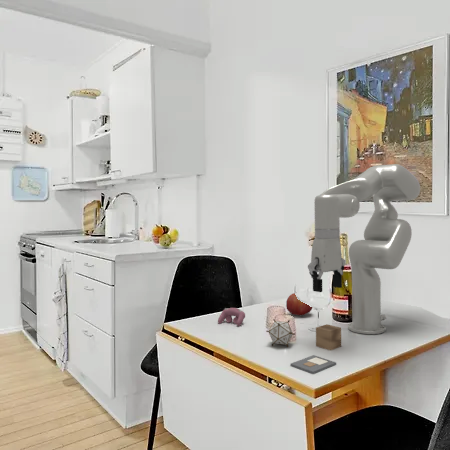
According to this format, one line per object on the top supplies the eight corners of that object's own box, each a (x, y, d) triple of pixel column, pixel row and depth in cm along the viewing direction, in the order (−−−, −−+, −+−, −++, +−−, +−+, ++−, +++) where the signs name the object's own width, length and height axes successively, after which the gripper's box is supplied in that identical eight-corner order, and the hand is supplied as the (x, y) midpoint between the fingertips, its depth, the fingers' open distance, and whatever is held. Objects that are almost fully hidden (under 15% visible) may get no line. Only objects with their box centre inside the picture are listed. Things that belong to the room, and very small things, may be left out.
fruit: (309, 311, 179) (309, 287, 179) (316, 318, 170) (315, 292, 169) (284, 312, 179) (283, 288, 178) (289, 319, 169) (288, 293, 168)
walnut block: (327, 342, 140) (326, 324, 140) (341, 346, 136) (341, 327, 136) (316, 346, 137) (315, 327, 136) (330, 350, 132) (330, 331, 132)
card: (313, 357, 127) (313, 354, 127) (336, 364, 121) (336, 362, 121) (290, 365, 121) (290, 363, 121) (313, 374, 115) (313, 371, 115)
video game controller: (244, 329, 163) (247, 310, 165) (238, 326, 159) (242, 307, 161) (222, 325, 168) (226, 307, 170) (216, 322, 164) (220, 304, 167)
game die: (285, 355, 140) (303, 329, 141) (280, 354, 132) (299, 326, 133) (263, 338, 144) (280, 313, 144) (257, 336, 136) (275, 309, 137)
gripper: (334, 232, 143) (334, 284, 144) (299, 235, 132) (299, 291, 133) (353, 233, 137) (354, 287, 138) (318, 236, 126) (319, 295, 127)
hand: (327, 289), depth 135 cm, fingers open, 9 cm apart
